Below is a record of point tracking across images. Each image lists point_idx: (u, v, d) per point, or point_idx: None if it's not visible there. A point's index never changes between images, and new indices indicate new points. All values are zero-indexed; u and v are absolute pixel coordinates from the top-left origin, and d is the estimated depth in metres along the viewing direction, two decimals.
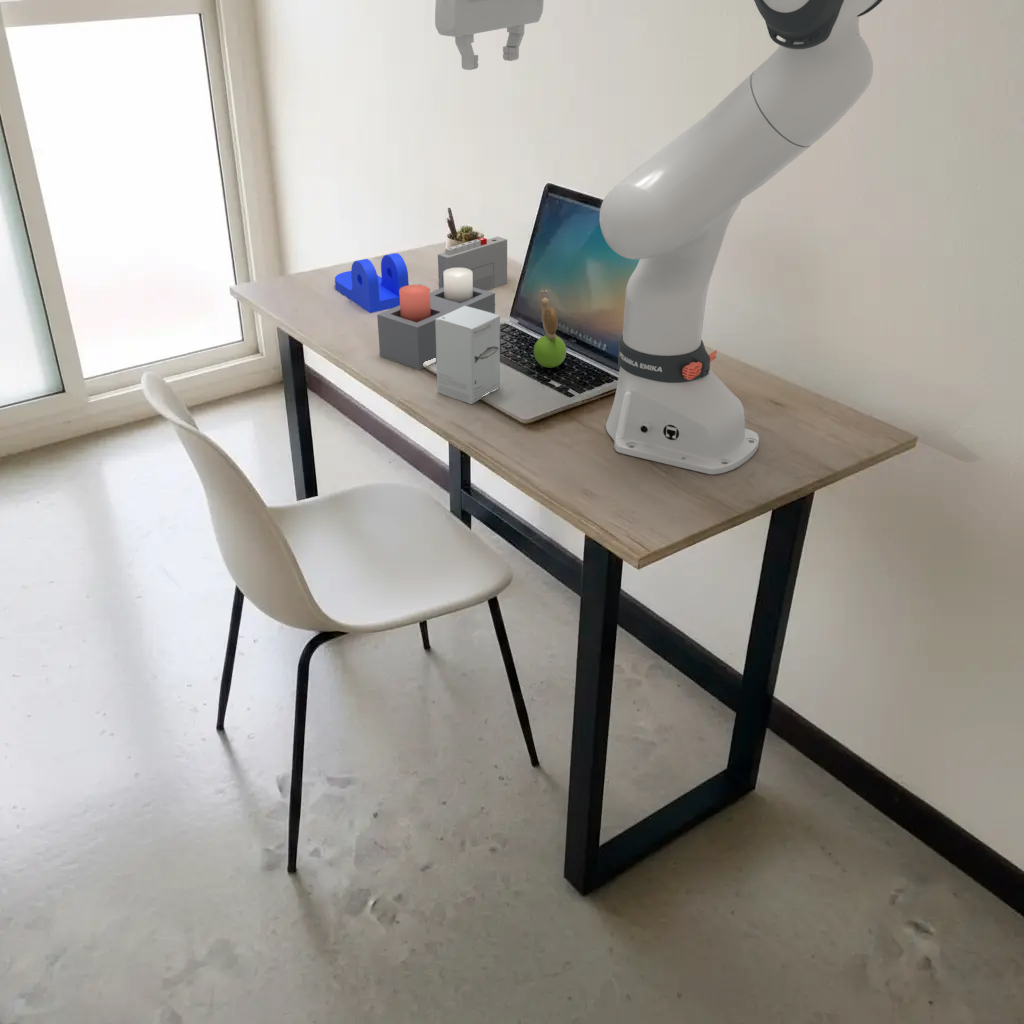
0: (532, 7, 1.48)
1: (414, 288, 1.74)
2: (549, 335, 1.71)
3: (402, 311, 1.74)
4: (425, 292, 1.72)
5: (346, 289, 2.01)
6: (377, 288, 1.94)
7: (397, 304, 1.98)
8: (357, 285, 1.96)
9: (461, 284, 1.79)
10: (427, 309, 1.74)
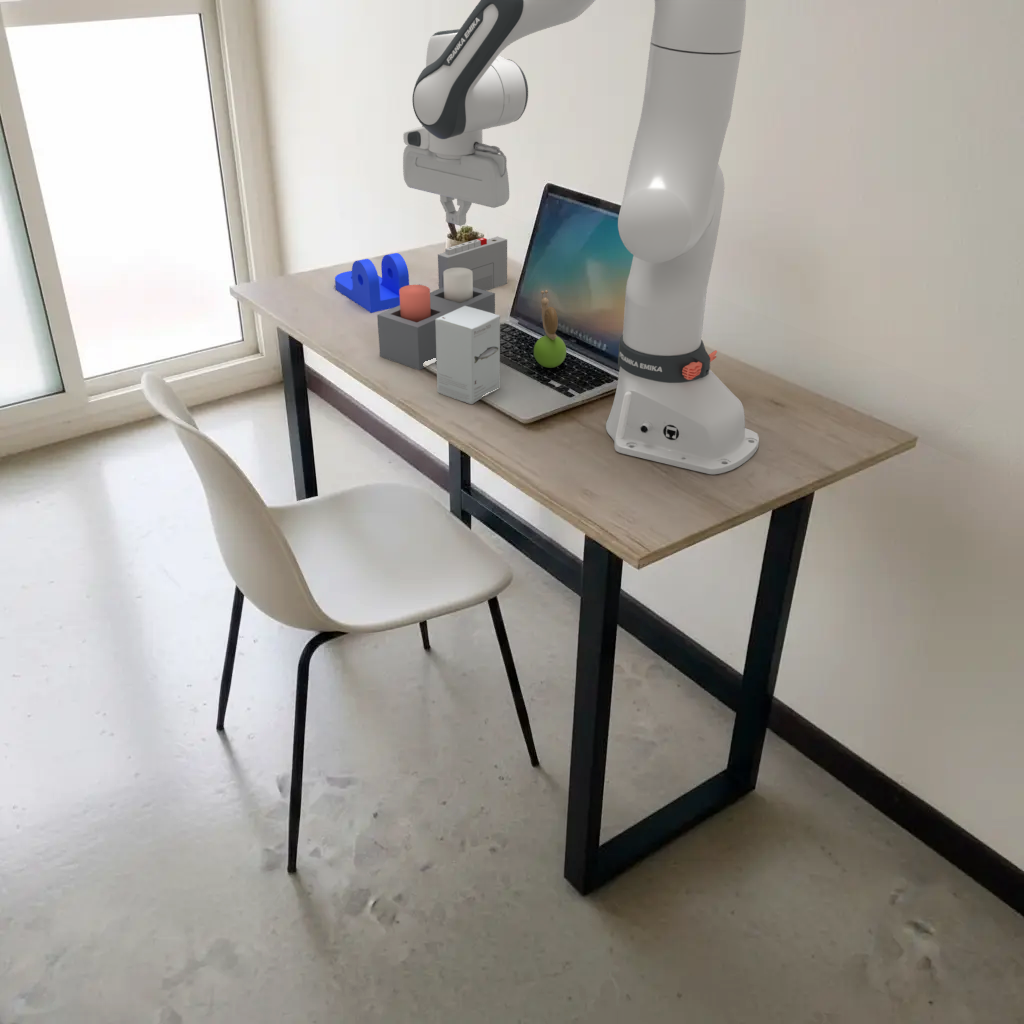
0: None
1: (414, 288, 1.74)
2: (549, 335, 1.71)
3: (402, 311, 1.74)
4: (425, 292, 1.72)
5: (346, 289, 2.01)
6: (378, 288, 1.94)
7: (398, 304, 1.98)
8: (358, 285, 1.96)
9: (461, 284, 1.79)
10: (427, 309, 1.74)
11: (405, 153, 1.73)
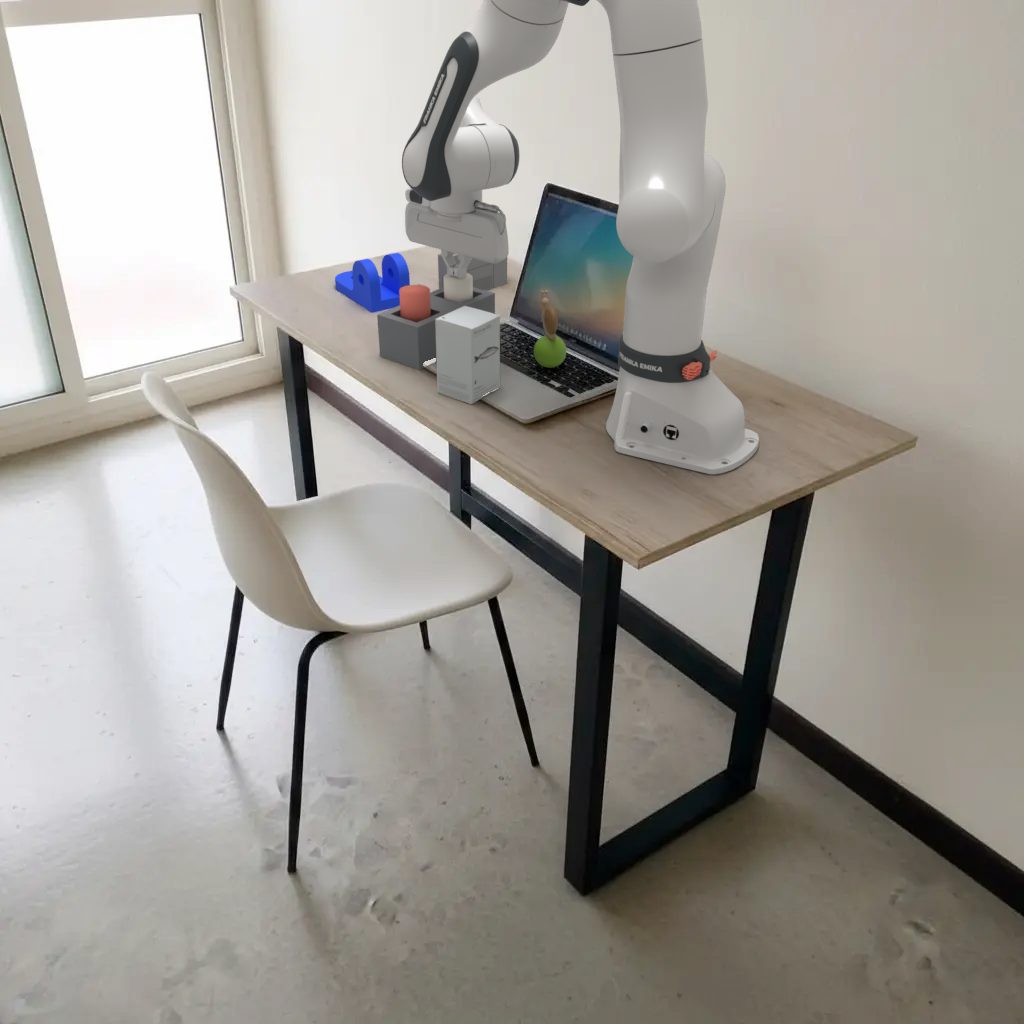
0: None
1: (414, 288, 1.74)
2: (549, 335, 1.71)
3: (402, 311, 1.74)
4: (425, 292, 1.72)
5: (347, 289, 2.01)
6: (379, 288, 1.94)
7: (398, 304, 1.98)
8: (359, 285, 1.97)
9: (461, 289, 1.80)
10: (427, 309, 1.74)
11: (407, 209, 1.78)
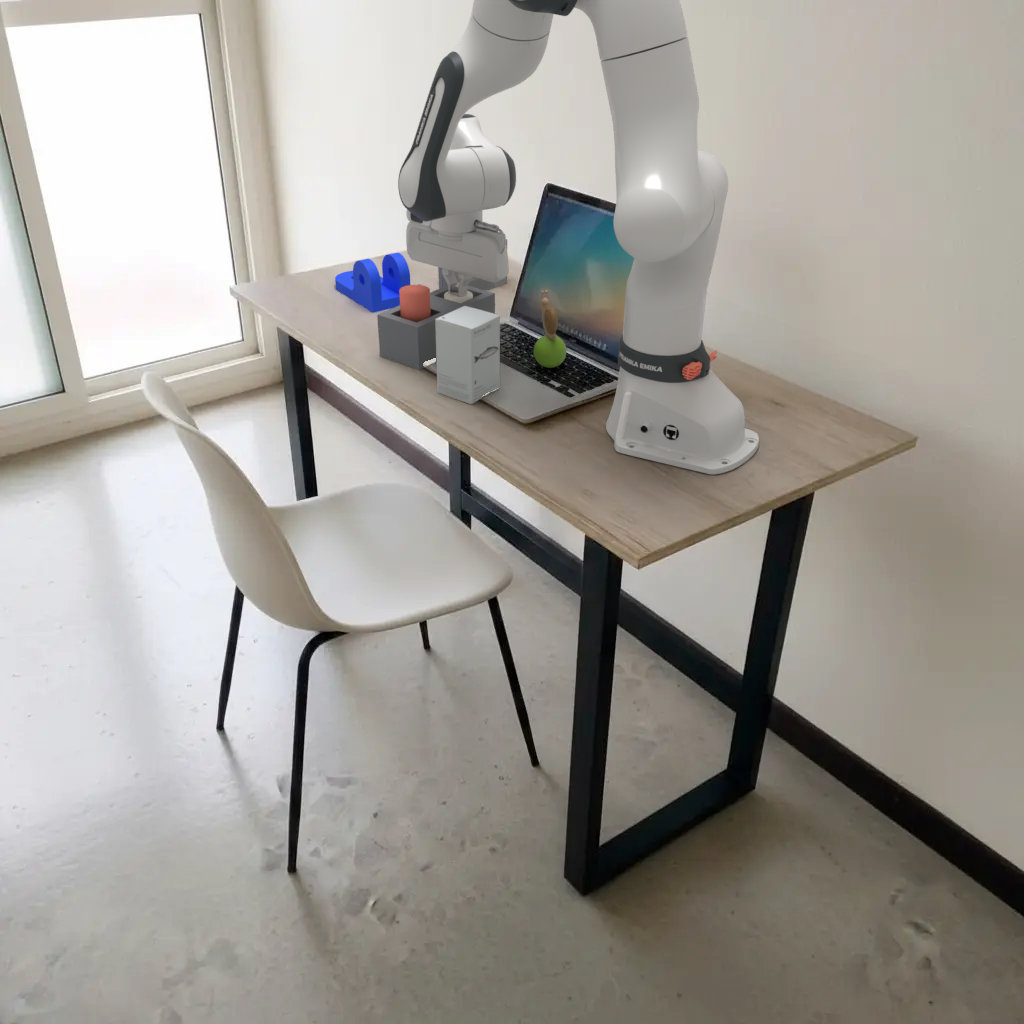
0: None
1: (414, 288, 1.74)
2: (549, 335, 1.71)
3: (402, 311, 1.74)
4: (425, 292, 1.72)
5: (347, 289, 2.01)
6: (379, 288, 1.94)
7: (399, 303, 1.98)
8: (359, 284, 1.97)
9: None
10: (427, 309, 1.74)
11: (408, 228, 1.80)
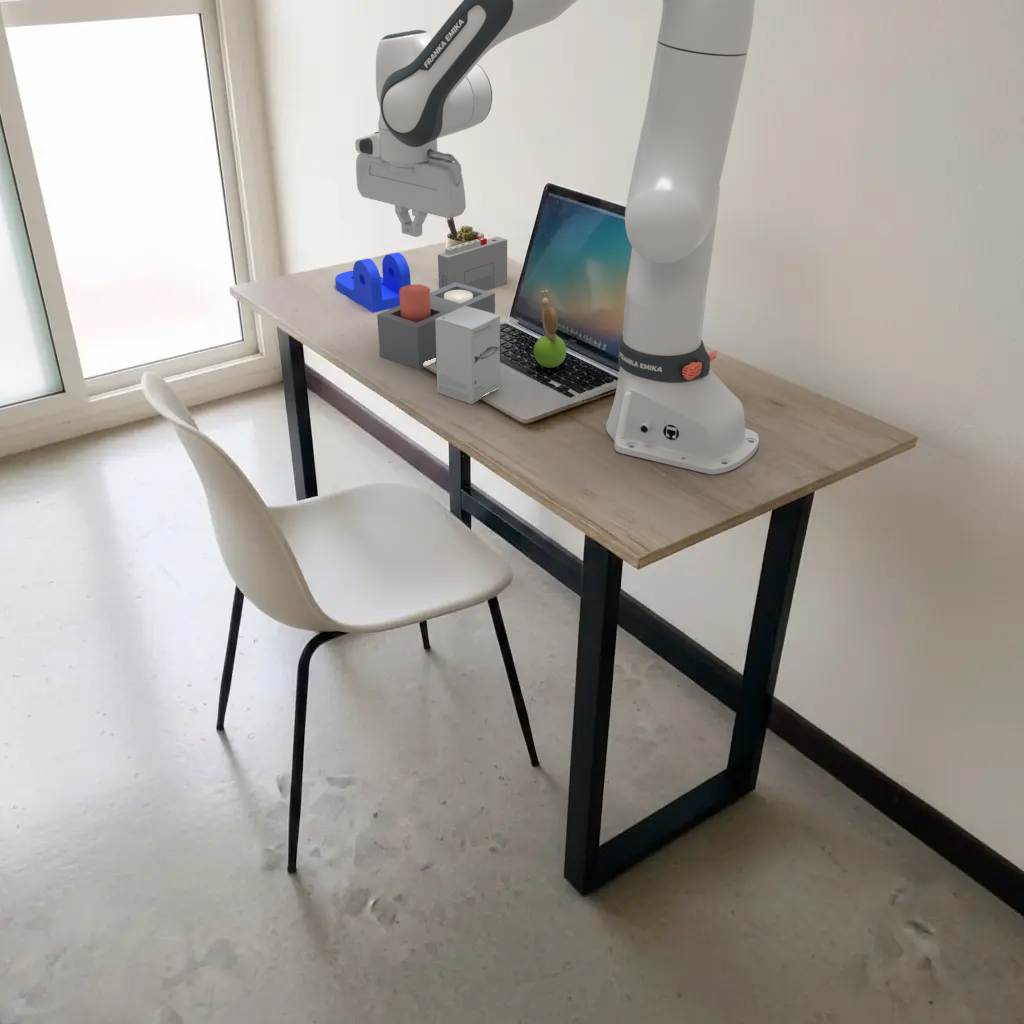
0: None
1: (414, 288, 1.74)
2: (549, 335, 1.71)
3: (402, 311, 1.74)
4: (425, 292, 1.72)
5: (347, 289, 2.01)
6: (380, 287, 1.94)
7: (399, 303, 1.98)
8: (360, 284, 1.97)
9: None
10: (427, 309, 1.74)
11: (358, 161, 1.66)
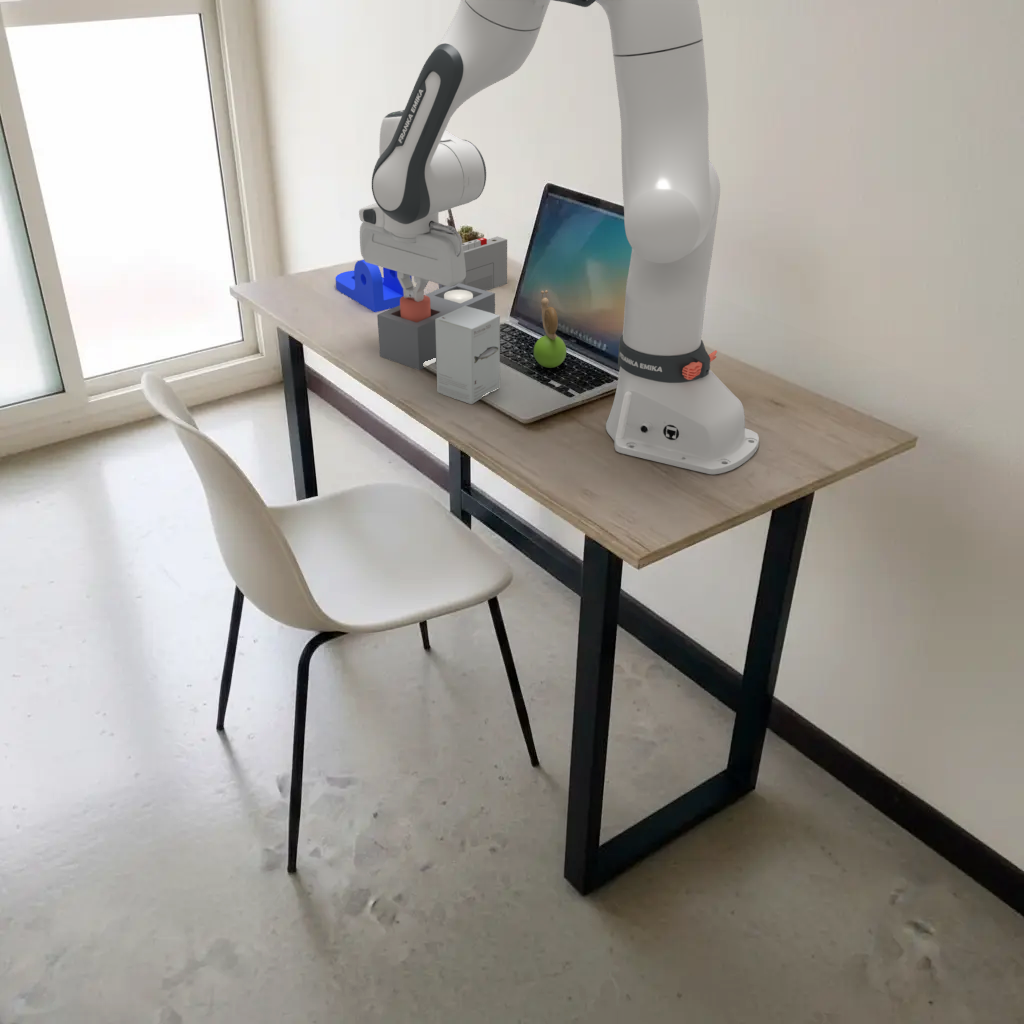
0: None
1: None
2: (549, 335, 1.71)
3: None
4: (425, 302, 1.73)
5: (348, 289, 2.01)
6: (381, 287, 1.94)
7: None
8: (361, 284, 1.97)
9: None
10: None
11: (362, 229, 1.71)
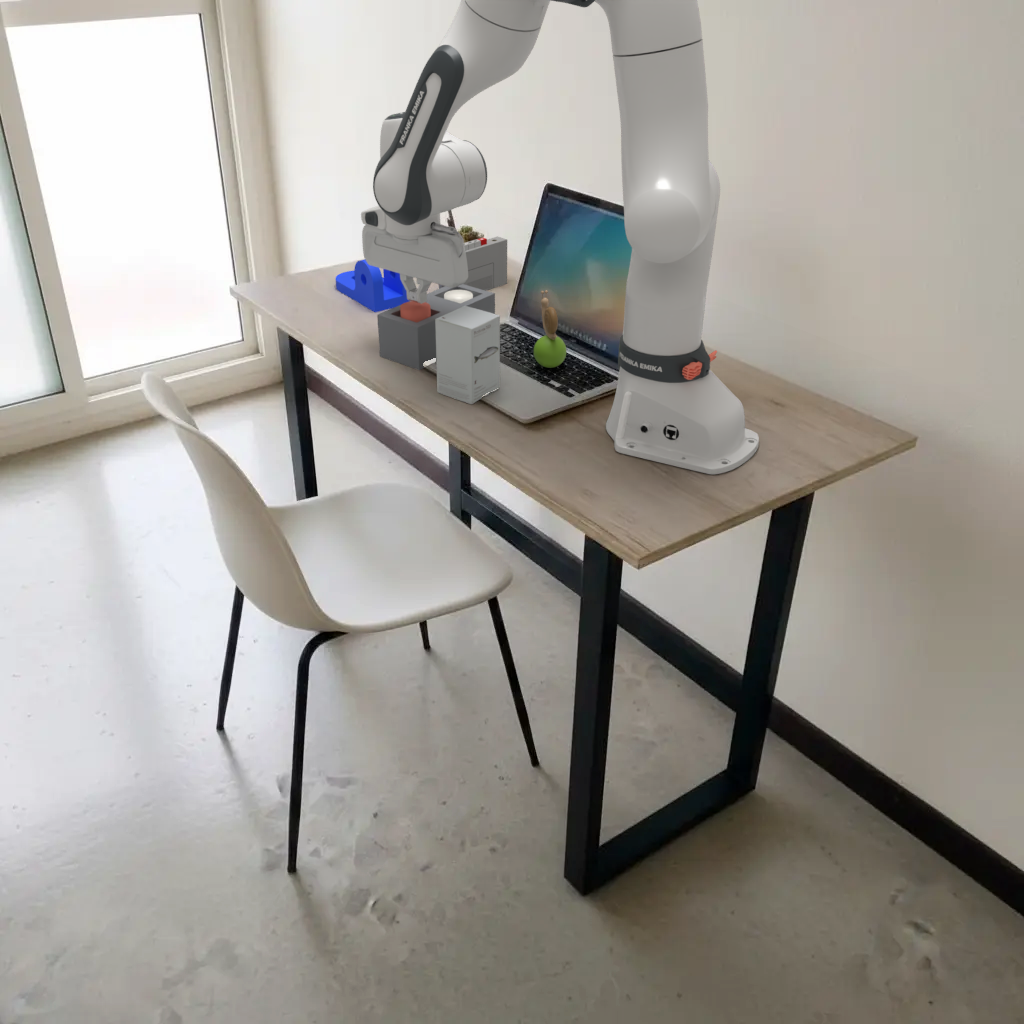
0: None
1: (415, 305, 1.75)
2: (549, 335, 1.71)
3: None
4: (426, 309, 1.74)
5: (348, 289, 2.01)
6: (381, 287, 1.94)
7: (401, 303, 1.98)
8: (361, 284, 1.97)
9: None
10: None
11: (364, 232, 1.72)
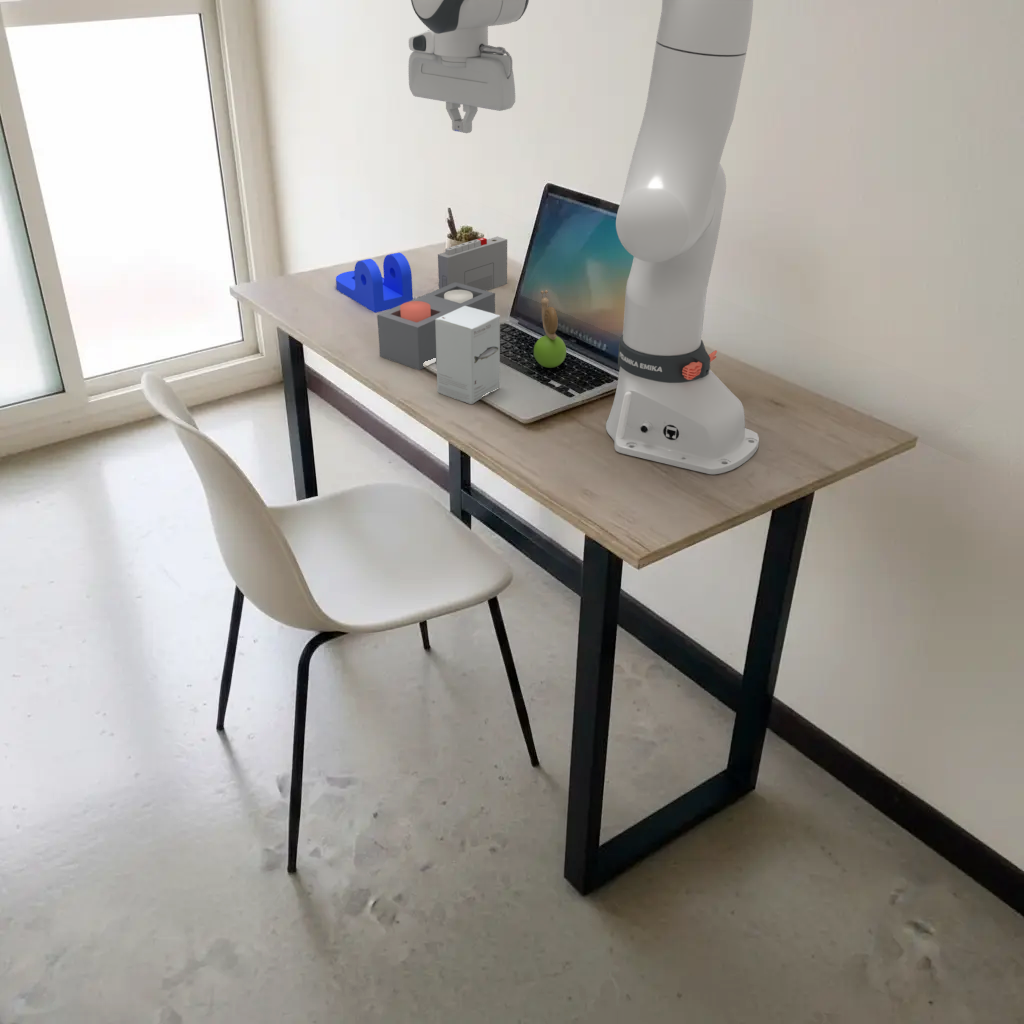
0: None
1: (415, 305, 1.75)
2: (549, 335, 1.71)
3: None
4: (426, 309, 1.74)
5: (348, 289, 2.01)
6: (381, 288, 1.94)
7: (401, 303, 1.98)
8: (361, 285, 1.96)
9: None
10: None
11: (411, 59, 1.73)
